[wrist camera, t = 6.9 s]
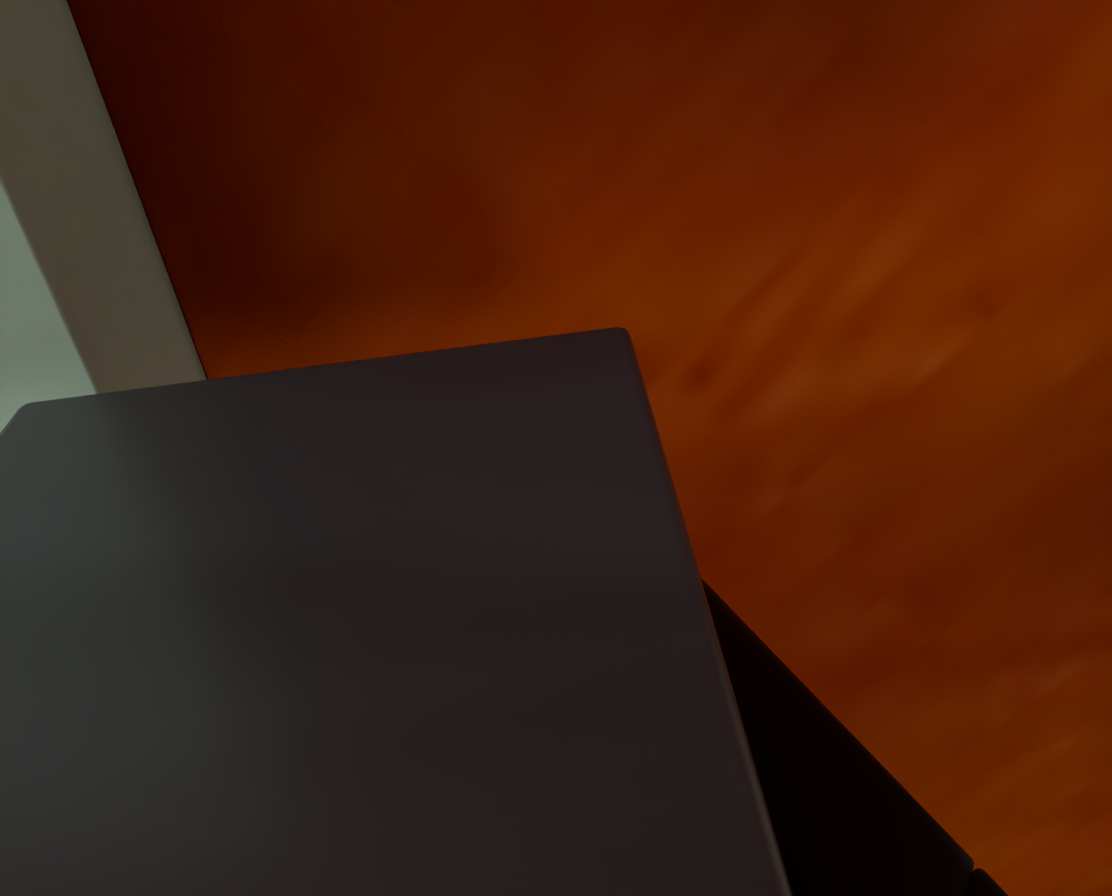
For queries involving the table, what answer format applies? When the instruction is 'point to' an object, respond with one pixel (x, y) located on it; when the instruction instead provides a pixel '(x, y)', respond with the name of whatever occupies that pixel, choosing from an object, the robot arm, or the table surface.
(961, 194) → the table surface
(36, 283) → the pocket book
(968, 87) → the table surface
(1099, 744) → the table surface
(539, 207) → the table surface
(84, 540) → the block
